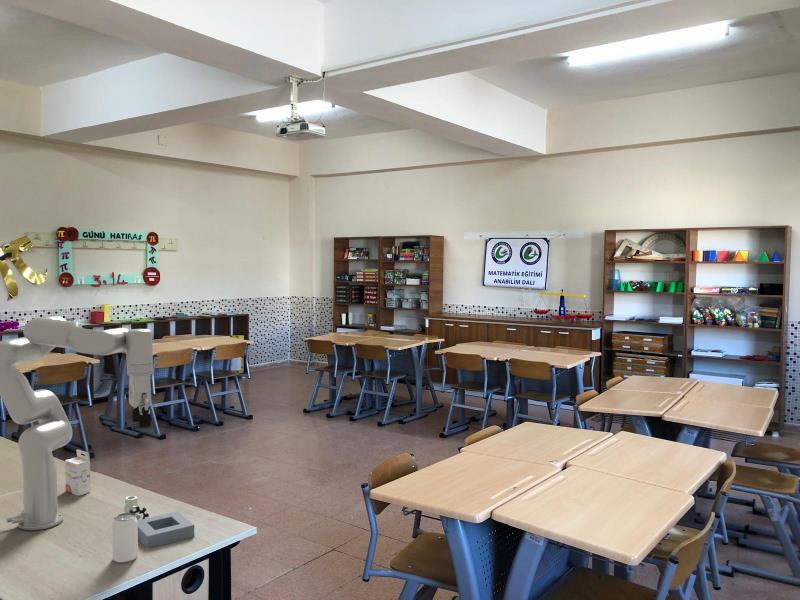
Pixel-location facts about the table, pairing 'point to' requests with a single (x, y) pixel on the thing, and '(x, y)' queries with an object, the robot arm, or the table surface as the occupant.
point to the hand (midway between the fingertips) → (141, 424)
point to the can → (125, 538)
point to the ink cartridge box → (78, 474)
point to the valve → (134, 507)
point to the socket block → (164, 529)
